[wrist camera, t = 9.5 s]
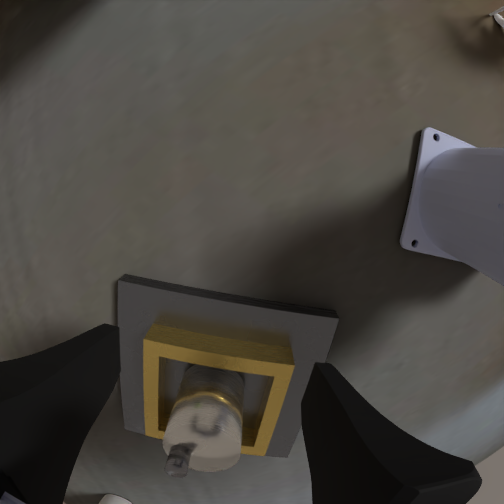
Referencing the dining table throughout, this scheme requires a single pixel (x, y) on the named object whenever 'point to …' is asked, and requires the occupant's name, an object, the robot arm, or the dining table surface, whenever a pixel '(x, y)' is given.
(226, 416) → the spout can
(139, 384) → the fill port
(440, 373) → the dining table surface
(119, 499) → the soft serve ice cream cone
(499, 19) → the action figure
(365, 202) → the dining table surface
